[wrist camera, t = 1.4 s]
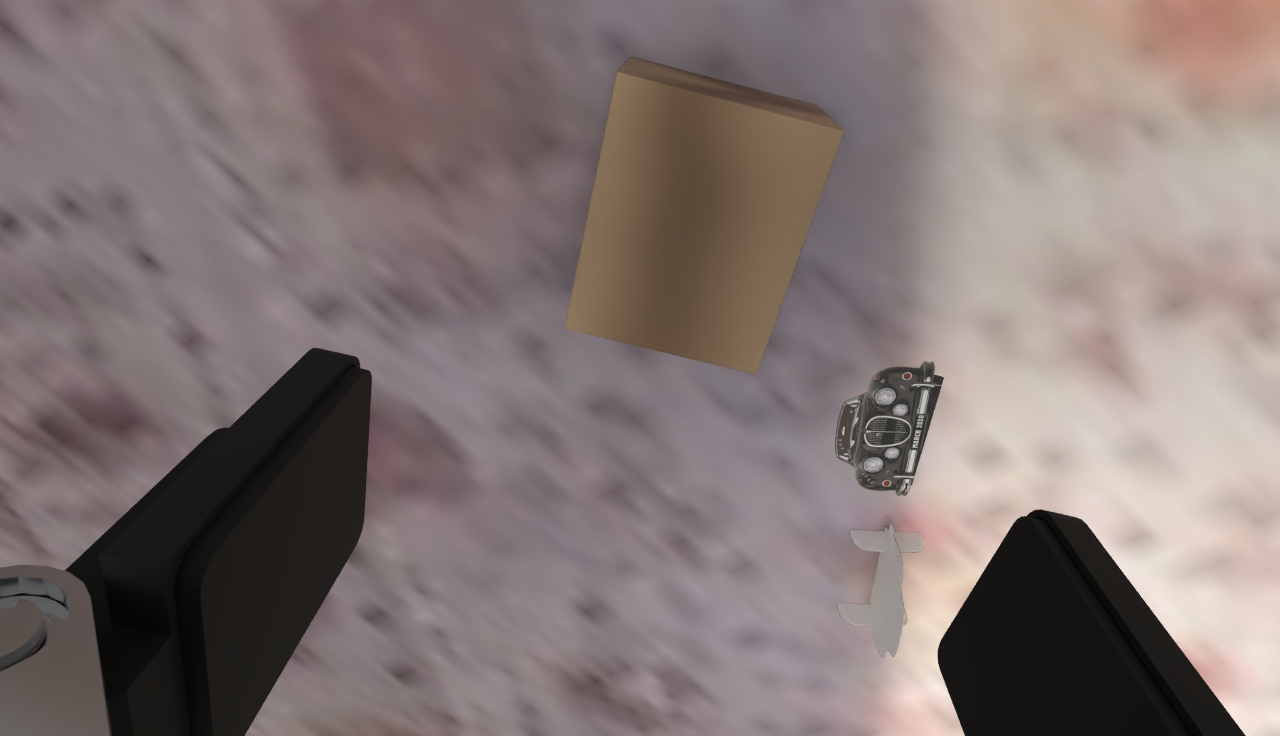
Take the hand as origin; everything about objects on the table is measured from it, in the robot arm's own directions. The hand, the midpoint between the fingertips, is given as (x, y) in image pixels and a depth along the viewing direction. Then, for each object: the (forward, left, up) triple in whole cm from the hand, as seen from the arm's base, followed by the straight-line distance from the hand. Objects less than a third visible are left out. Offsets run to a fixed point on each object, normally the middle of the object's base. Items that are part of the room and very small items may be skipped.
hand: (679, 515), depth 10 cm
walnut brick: (0, 0, -18) cm, 18 cm away
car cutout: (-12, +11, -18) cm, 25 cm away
